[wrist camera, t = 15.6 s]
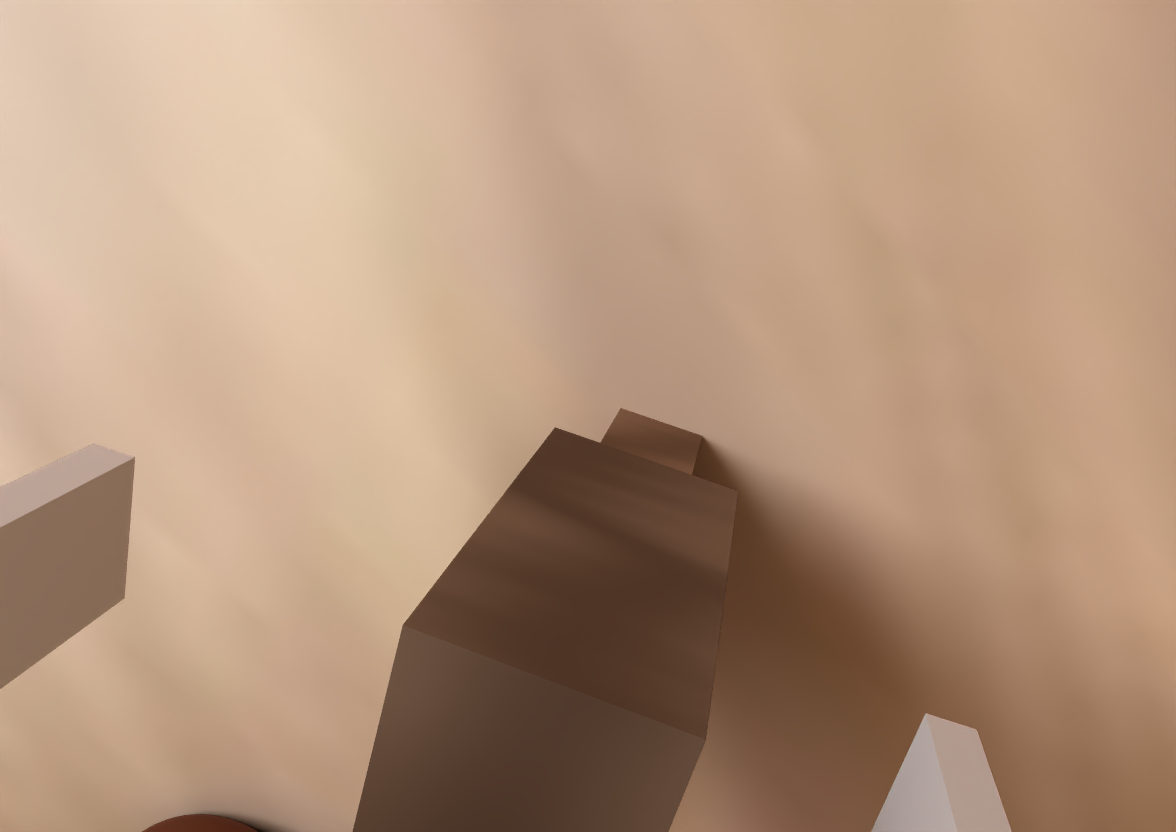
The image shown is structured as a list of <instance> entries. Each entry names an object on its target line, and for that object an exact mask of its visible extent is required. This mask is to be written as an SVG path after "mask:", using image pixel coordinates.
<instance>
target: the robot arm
mask: <svg viewBox="0 0 1176 832" xmlns="http://www.w3.org/2000/svg"><path fill="white" fill-rule="evenodd" d="M134 464H135V457H133V456H130V455H127V454H124V453H121V452H117V451H114V450H111V449H108V448H105V447H102V446H99V445H96V444H91V445H89V446H87V447H85V448H83V449H81V450H79V451H76V452H74V453H72V454H70V455H68V456H66V457H64V458H62V459H59V460H57V461H55V462H53V463H51V464H49V465H47V466H44V467H42V468H40V469H38V470H36V471H34V472H32V473H30V474H27V475H25V476H23V477H21V478H19V479H17V480H15V481H12V482H10V483H8V484H6V485H4V486H2V487H0V689H1V688H2V687H4V686H5V685H6V684H8V683H9V682H11V681H12V680H13V679H15V678H16V677H17V676H19V675H20V674H21V673H23V672H24V671H26V670H27V669H28V668H30V667H31V666H32V665H34V664H35V663H36V662H38V661H39V660H41V659H42V658H43V657H45V656H46V655H47V654H49V653H50V652H52V651H53V650H54V649H56V648H57V647H58V646H60V645H61V644H62V643H64V642H65V641H67V640H68V639H69V638H71V637H72V636H73V635H75V634H76V633H78V632H79V631H80V630H82V629H83V628H84V627H86V626H87V625H88V624H90V623H91V622H93V621H94V620H95V619H97V618H98V617H99V616H101V615H102V614H103V613H105V612H106V611H108V610H109V609H110V608H112V607H113V606H114V605H116V604H117V603H119V602H120V601H121V600H123V599H124V597H125V584H126V571H127V557H128V544H129V531H130V517H131V504H132V491H133V478H134ZM871 832H1012V831H1011V828H1010V825H1009V822H1008V819H1007V816H1006V813H1005V811H1004V808H1003V805H1002V802H1001V799H1000V796H999V793H998V790H997V787H996V784H995V782H994V779H993V776H992V773H991V770H990V767H989V764H988V761H987V758H986V755H985V752H984V750H983V747H982V744H981V741H980V738H979V735H978V732H977V730H976V729H973V728H970V727H967V726H964V725H961V724H958V723H955V722H952V721H949V720H945V719H942V718H939V717H936V716H933V715H930V714H927V713H926V714H925V716H924V718H923V720H922V722H921V724H920V727H919V729H918V731H917V733H916V735H915V737H914V740H913V742H912V744H911V746H910V748H909V750H908V753H907V755H906V757H905V759H904V761H903V764H902V766H901V768H900V770H899V772H898V774H897V777H896V779H895V781H894V783H893V785H892V787H891V790H890V792H889V794H888V796H887V798H886V800H885V803H884V805H883V807H882V809H881V811H880V813H879V816H878V818H877V820H876V822H875V824H874V826H873V829H872V831H871Z"/></svg>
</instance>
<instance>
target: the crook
mask: <svg viewBox="0 0 1176 832" xmlns="http://www.w3.org/2000/svg"><path fill="white" fill-rule="evenodd" d="M701 440H702V436H701V435H698V434H695V433H692V432H689V431H686V430H683V429H680V428H677V427H674V426H671V425H668V424H666V423H663V422H660V421H657V420H654V419H651V418H648V417H645V416H642V415H639V414H636V413H633V412H630V411H627V410H625V409H622V408H621V409H620V410H619V412H618V414H617V415H616V417H615V419H614V421H613V422H612V424H611V426H610V427H609V429H608V431H607V432H606V434H605V436H604V438H603V439H602V441H601V443H599V442H596V441H593V440H590V439H587V438H584V437H581V436H578V435H575V434H573V433H570V432H567V431H564V430H561V429H558V428H554V430H553V431H552V432H551V433H550V435H549V436H548V437H547V439H546V440H545V441H544V443H543V444H542V445H541V446H540V448H539V449H538V450H537V452H536V453H535V454H534V456H533V457H532V458H531V459H530V461H529V462H528V463H527V465H526V466H525V467H524V469H523V470H522V471H521V472H520V474H519V475H518V476H517V478H516V479H515V480H514V482H513V483H512V484H511V485H510V487H509V488H508V489H507V491H506V492H505V493H504V495H503V496H502V497H501V498H500V500H499V501H498V502H497V504H496V505H495V506H494V508H493V509H492V510H491V511H490V513H489V514H488V515H487V517H486V518H485V519H484V520H483V522H482V523H481V524H480V526H479V527H478V528H477V530H476V531H475V532H474V533H473V535H472V536H471V537H470V539H469V540H468V541H467V543H466V544H465V545H464V546H463V548H462V549H461V550H460V552H459V553H458V554H457V556H456V557H455V558H454V559H453V561H452V562H451V563H450V565H449V566H448V567H447V569H446V570H445V571H444V572H443V574H442V575H441V576H440V578H439V579H438V580H437V582H436V583H435V584H434V585H433V587H432V588H431V589H430V591H429V592H428V593H427V595H426V596H425V597H424V598H423V600H422V601H421V602H420V604H419V605H418V606H417V607H416V609H415V610H414V611H413V613H412V614H411V615H410V617H409V618H408V619H407V620H406V622H405V623H404V624H403V627H402V631H401V635H400V639H399V643H398V647H397V651H396V656H395V660H394V664H393V668H392V672H391V676H390V680H389V684H388V688H387V693H386V697H385V701H384V705H383V709H382V713H381V717H380V721H379V725H378V730H377V734H376V738H375V742H374V746H373V750H372V754H371V758H370V762H369V767H368V771H367V775H366V779H365V783H364V787H363V791H362V795H361V800H360V804H359V808H358V812H357V816H356V820H355V824H354V828H353V832H668V831H669V828H670V826H671V824H672V821H673V819H674V816H675V814H676V811H677V809H678V806H679V804H680V802H681V799H682V797H683V794H684V792H685V789H686V787H687V784H688V782H689V780H690V777H691V775H692V772H693V770H694V767H695V765H696V762H697V760H698V758H699V755H700V753H701V750H702V748H703V745H704V743H705V740H706V734H707V727H708V719H709V712H710V704H711V696H712V689H713V681H714V674H715V666H716V658H717V651H718V643H719V636H720V628H721V620H722V613H723V605H724V598H725V590H726V582H727V575H728V567H729V560H730V552H731V544H732V537H733V529H734V522H735V514H736V506H737V499H738V491H737V490H734V489H731V488H728V487H725V486H723V485H720V484H717V483H714V482H711V481H708V480H705V479H702V478H700V477H697V476H694V475H692V473H693V469H694V465H695V462H696V458H697V454H698V451H699V447H700V443H701Z"/></svg>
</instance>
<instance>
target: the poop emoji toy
mask: <svg viewBox="0 0 1176 832" xmlns="http://www.w3.org/2000/svg"><path fill="white" fill-rule="evenodd" d="M143 832H258V831H256V830H254V829H253V828H251V827H249V826H247V825H245V824H242V823H240V822H238V821H235V820H232V819H229V818H225V817H220V816H215V815H205V814H194V815H184V816H179V817H174V818H171V819H167V820H165V821H162V822H159V823H157V824H155V825H153V826H151V827H149V828H147V829H146V830H144V831H143Z"/></svg>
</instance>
